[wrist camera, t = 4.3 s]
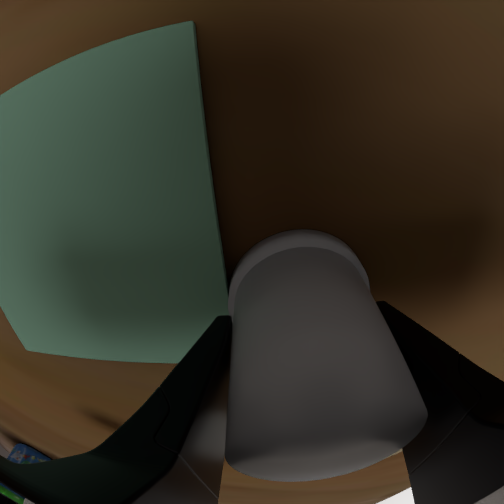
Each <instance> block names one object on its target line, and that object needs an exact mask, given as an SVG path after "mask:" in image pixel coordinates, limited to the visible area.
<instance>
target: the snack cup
mask: <svg viewBox="0 0 504 504" xmlns="http://www.w3.org/2000/svg"><path fill="white" fill-rule="evenodd" d="M7 459H8V460H10V461H12V462H14V463H19V464H30V463H38V462H44V461H49V460H51V459H50V458H48V457H47V456H45V455H43V454H42V453H40V452H38V451H37V450H35V449H33V448H31V447H29V446H27V445H24V444H20V443H19V444H16V445H15V446H14V448H13V449H12V451H11V453H10V454H9V456H8V458H7ZM0 492H1V493H2V494H4V495H6V496H7V497H9V498H11V499H12V500H14V501H16V502H18V503H19V504H23V503H24V499H25V498H24V497H22V496H21V495H19V494H17V493H16V492H14V491H12V490H11V489H9V488H8V487H6V486H5V485H3V484H2V483H0Z"/></svg>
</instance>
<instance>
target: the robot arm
mask: <svg viewBox="0 0 504 504" xmlns="http://www.w3.org/2000/svg"><path fill="white" fill-rule="evenodd" d="M376 304H377V306H378V308H379V309H380V311H381V313H382V315H383V317H384V319H385V321H386V323H387V325H388V327H389V329H390V331H391V333H392V335H393V337H394V339H395V341H396V343H397V345H398V347H399V349H400V351H401V353H402V355H403V357H404V359H405V362H406V364H407V366H408V368H409V370H410V372H411V375H412V377H413V379H414V381H415V383H416V386H417V388H418V390H419V393H420V395H421V397H422V400H423V402H424V404H425V407H426V409H427V413H428V417H427V421H426V423H425V425H424V427H423V428H422V430H421V431H420V432H419V433H418V435H417V436H416V437H415V438H414V439H413V440H412V441H410V442H409V443H408V444H407V445H406V446H404V447H403V448H402V450H403V454H404V458H405V462H406V466H407V470H408V474H409V479H410V483H411V488H412V492H413V497H414V502H415V504H504V382H503V381H502V380H500V379H498V378H497V377H495V376H493V375H492V374H490V373H489V372H487V371H485V370H484V369H482V368H481V367H479V366H478V365H476V364H475V363H473V362H472V361H470V360H469V359H467V358H466V357H465V356H463V355H462V354H459V352H458V351H456V350H455V349H453V348H452V347H451V346H449V345H448V344H446V343H445V342H444V341H442V340H441V339H439V338H438V337H436V336H435V335H434V334H432V333H431V332H429V331H428V330H426V329H425V328H424V327H422V326H421V325H419V324H418V323H416V322H415V321H413V320H412V319H411V318H409V317H408V316H406V315H405V314H403V313H402V312H400V311H399V310H397V309H396V308H394V307H393V306H391V305H390V304H388V303H387V302H385V301H378V302H376ZM232 327H233V323H232V318H231V316H230V315H219V316H217V317H216V318H215V319H214V321H213V322H212V323H211V324H210V326H209V327H208V328H207V329H206V330H205V332H204V333H203V334H202V335H201V337H200V338H199V339H198V340H197V341H196V343H195V344H194V345H193V346H192V347H191V349H190V350H189V351H188V352H187V353H186V355H185V356H184V357H183V358H182V360H181V361H180V362H179V363H178V364H177V366H176V367H175V368H174V369H173V370H172V372H171V373H170V374H169V375H168V376H167V378H166V379H165V380H164V381H163V382H162V384H161V385H160V387H158V388H157V389H156V391H155V392H154V393H153V394H152V395H151V396H150V398H149V399H148V400H147V401H146V402H145V403H144V404H143V405H142V406H141V407H140V408H139V409H138V410H137V411H136V412H135V413H134V414H133V415H132V416H131V417H130V418H129V419H128V420H127V421H126V422H125V423H124V424H123V425H122V426H121V427H119V428H118V429H117V430H116V431H115V432H114V433H113V434H112V435H111V436H110V437H108V438H107V439H106V440H105V441H104V442H103V443H102V444H100V445H99V446H98V447H96V448H95V449H93V450H91V451H89V452H86V453H83V454H79V455H74V456H70V457H65V458H60V459H55V460H49V461H44V462H38V463H30V464H19V463H14V462H12V461H10V460H8V459H6V458H4V457H2V456H1V455H0V483H2V484H3V485H5V486H6V487H8V488H9V489H11V490H12V491H14V492H16V493H17V494H19V495H21V496H22V497H24V498H25V499H24V503H23V504H218V498H219V491H220V484H221V476H222V469H223V462H224V455H225V442H226V423H227V405H228V389H229V372H230V357H231V341H232ZM0 504H19V503H18V502H16V501H14V500H12V499H11V498H9V497H7V496H6V495H4V494H2V493H1V492H0Z"/></svg>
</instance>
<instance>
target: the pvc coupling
mask: <svg viewBox="0 0 504 504" xmlns="http://www.w3.org/2000/svg"><path fill="white" fill-rule="evenodd" d="M228 311H229V315H230V316H231V318H232V323H233V327H232V341H231V357H230V372H229V389H228V405H227V423H226V442H225V458H226V461H227V462H228V464H229V465H230V466H231V467H232V468H234V469H235V470H237V471H239V472H241V473H243V474H245V475H248V476H251V477H255V478H259V479H265V480H272V481H287V482H291V481H310V480H319V479H325V478H330V477H335V476H340V475H343V474H347V473H351V472H354V471H357V470H360V469H362V468H365V467H368V466H370V465H372V464H375V463H377V462H379V461H381V460H383V459H385V458H387V457H389V456H390V455H392V454H394V453H396V452H397V451H399V450H400V449H401V448H403V447H404V446H406V445H407V444H408V443H409V442H410V441H412V440H413V439H414V438H415V437H416V436H417V435H418V433H419V432H420V431H421V430H422V428H423V427H424V425H425V423H426V421H427V417H428V413H427V409H426V407H425V404H424V402H423V400H422V397H421V395H420V393H419V390H418V388H417V386H416V383H415V381H414V379H413V377H412V375H411V372H410V370H409V368H408V366H407V364H406V362H405V359H404V357H403V355H402V353H401V351H400V349H399V347H398V345H397V343H396V341H395V339H394V337H393V335H392V333H391V331H390V329H389V327H388V325H387V323H386V321H385V319H384V317H383V315H382V313H381V311H380V309H379V308H378V306H377V304H376V302H375V300H374V298H373V296H372V295H371V293H370V285H369V280H368V276H367V274H366V271H365V269H364V268H363V266H362V264H361V263H360V261H359V260H358V258H357V256H356V255H355V253H354V252H353V251H352V249H351V248H350V247H349V246H348V245H347V244H346V243H344V242H343V241H342V240H340V239H338V238H337V237H335V236H333V235H330V234H328V233H325V232H321V231H317V230H309V229H297V230H289V231H285V232H281V233H277V234H275V235H272V236H269V237H267V238H266V239H264V240H262V241H260V242H259V243H257V244H256V245H254V246H253V247H252V248H251V249H249V250H248V251H247V252H246V253H245V254H244V255H243V257H242V258H241V259H240V260H239V262H238V264H237V265H236V267H235V269H234V271H233V273H232V277H231V280H230V288H229V297H228Z"/></svg>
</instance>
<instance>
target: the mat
mask: <svg viewBox="0 0 504 504" xmlns="http://www.w3.org/2000/svg"><path fill="white" fill-rule="evenodd" d="M228 297H229V288H228V282H227V275H226V269H225V263H224V256H223V249H222V243H221V236H220V229H219V222H218V216H217V208H216V201H215V194H214V187H213V179H212V172H211V164H210V156H209V149H208V140H207V132H206V124H205V115H204V107H203V98H202V89H201V79H200V70H199V60H198V49H197V39H196V28H195V23H194V22H193V21H188V22H182V23H178V24H173V25H168V26H164V27H160V28H156V29H152V30H148V31H144V32H141V33H137V34H134V35H130V36H127V37H124V38H121V39H118V40H115V41H112V42H109V43H106V44H103V45H101V46H98V47H95V48H93V49H90V50H88V51H85V52H83V53H80V54H78V55H75V56H73V57H71V58H69V59H66V60H64V61H62V62H60V63H58V64H56V65H53V66H51V67H49V68H47V69H45V70H43V71H42V72H40V73H38V74H36V75H34V76H32V77H30V78H28V79H27V80H25V81H23V82H21V83H20V84H18V85H16V86H15V87H13V88H11V89H10V90H8V91H6V92H5V93H3V94H2V95H0V306H1V308H2V310H3V312H4V314H5V315H6V317H7V319H8V321H9V322H10V324H11V326H12V328H13V329H14V331H15V333H16V334H17V336H18V338H19V339H20V341H21V342H22V344H23V345H24V347H25V349H26V350H29V351H35V352H41V353H47V354H54V355H62V356H70V357H79V358H88V359H99V360H111V361H126V362H146V363H179V362H180V361H181V360H182V358H183V357H184V356H185V355H186V353H187V352H188V351H189V350H190V349H191V347H192V346H193V345H194V344H195V343H196V341H197V340H198V339H199V338H200V337H201V335H202V334H203V333H204V332H205V330H206V329H207V328H208V327H209V326H210V324H211V323H212V322H213V321H214V319H215V318H216V317H217V316H219V315H229V311H228Z"/></svg>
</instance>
